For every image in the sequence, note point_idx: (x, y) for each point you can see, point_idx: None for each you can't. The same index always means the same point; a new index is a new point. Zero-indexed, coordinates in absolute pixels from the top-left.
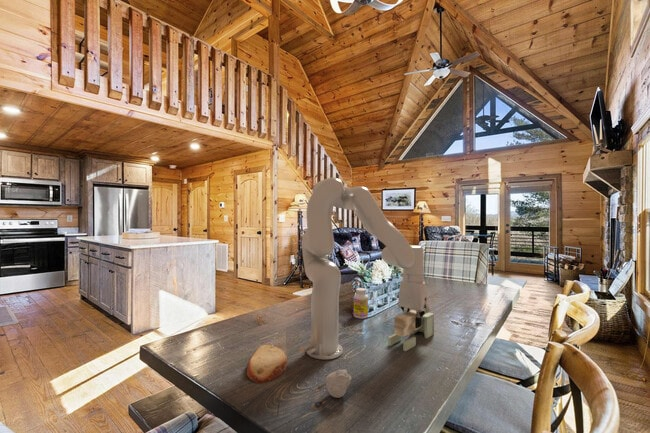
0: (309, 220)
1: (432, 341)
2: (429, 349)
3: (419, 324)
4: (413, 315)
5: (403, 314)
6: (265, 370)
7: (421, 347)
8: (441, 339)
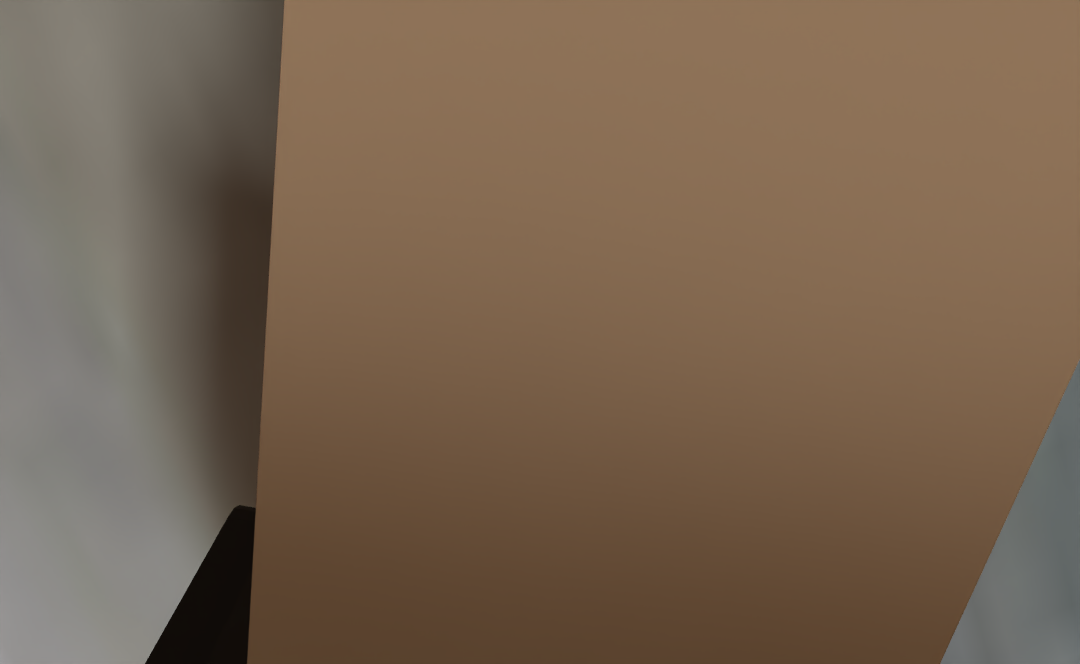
0: None
1: (181, 461)
2: (17, 4)
3: (227, 522)
4: (258, 647)
5: (927, 452)
6: None
7: (212, 3)
8: (99, 629)
